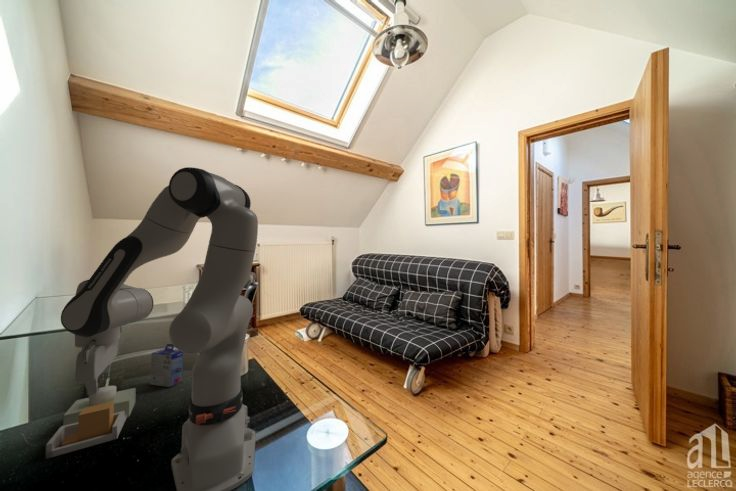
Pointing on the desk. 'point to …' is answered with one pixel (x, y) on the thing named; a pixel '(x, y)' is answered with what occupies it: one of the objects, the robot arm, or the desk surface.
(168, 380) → the ink cartridge box
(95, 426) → the orange upright block
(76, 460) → the desk surface
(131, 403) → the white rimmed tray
